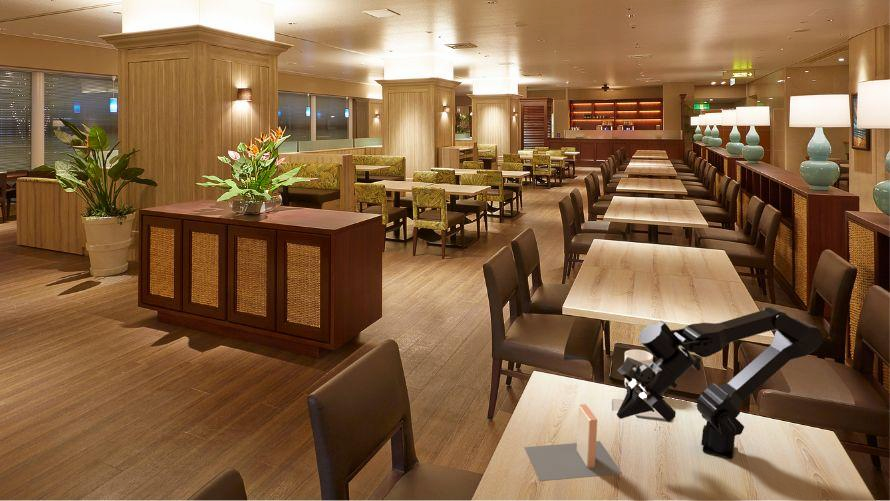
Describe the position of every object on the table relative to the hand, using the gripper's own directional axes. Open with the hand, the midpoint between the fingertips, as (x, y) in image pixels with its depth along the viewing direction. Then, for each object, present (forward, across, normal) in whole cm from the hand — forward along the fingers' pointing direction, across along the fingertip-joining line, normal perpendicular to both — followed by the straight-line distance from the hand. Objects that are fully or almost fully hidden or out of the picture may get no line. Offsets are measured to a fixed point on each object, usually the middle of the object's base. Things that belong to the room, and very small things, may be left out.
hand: (618, 416), depth 129 cm
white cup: (-7, -34, +22) cm, 41 cm away
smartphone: (-3, -20, +19) cm, 28 cm away
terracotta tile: (+12, 0, +2) cm, 12 cm away
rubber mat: (+15, 0, 0) cm, 15 cm away
